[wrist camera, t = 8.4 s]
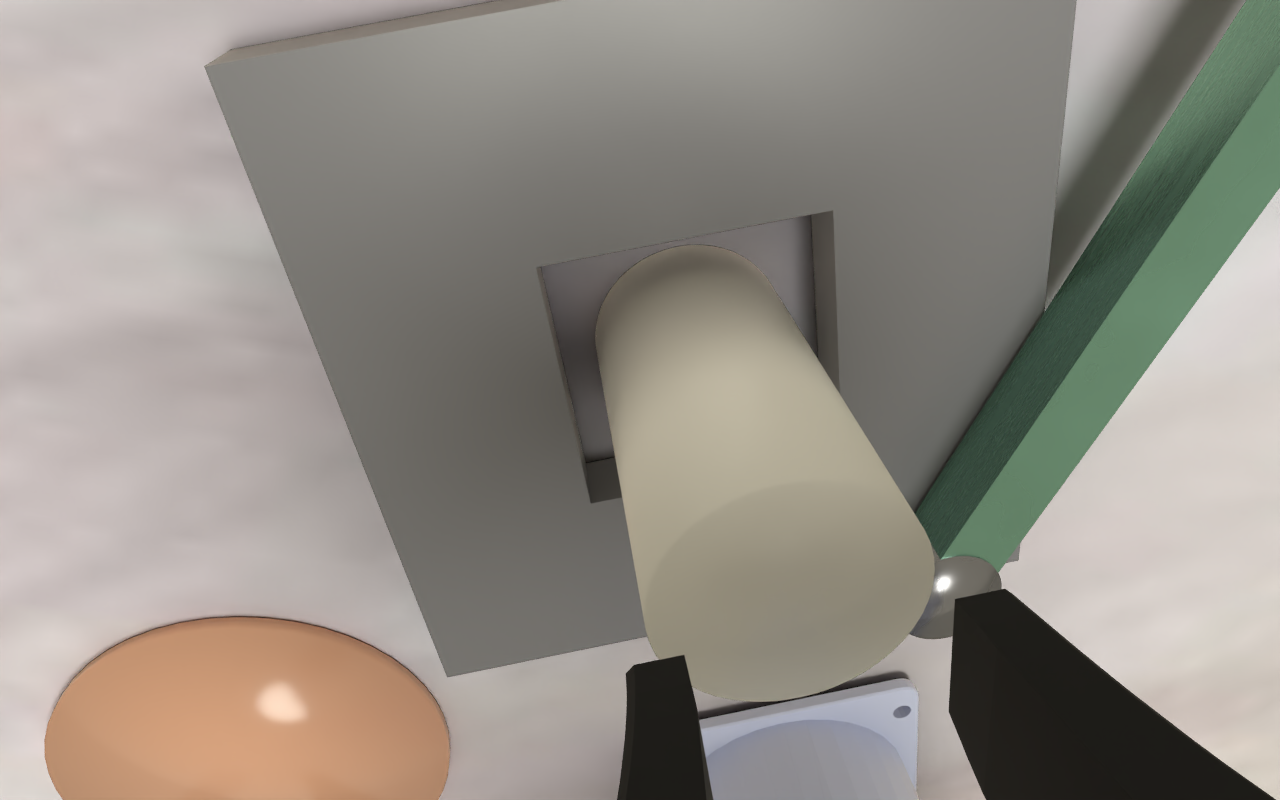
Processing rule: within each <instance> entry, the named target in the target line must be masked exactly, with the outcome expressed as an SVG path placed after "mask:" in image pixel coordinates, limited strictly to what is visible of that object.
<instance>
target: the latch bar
mask: <svg viewBox="0 0 1280 800" xmlns="http://www.w3.org/2000/svg"><path fill="white" fill-rule="evenodd" d="M1279 188H1280V0H1246V2H1245V3H1244V5H1243V6H1242V8H1241V10H1240V11H1239V13H1238V14H1237V16H1236V17H1235V19H1234V20H1233V22H1232V23H1231V25H1230V27H1229V28H1228V30H1227V31H1226V33H1225V34H1224V36H1223V37H1222V39H1221V40H1220V42H1219V44H1218V45H1217V47H1216V48H1215V50H1214V51H1213V53H1212V54H1211V56H1210V57H1209V59H1208V61H1207V62H1206V64H1205V65H1204V67H1203V68H1202V70H1201V71H1200V73H1199V74H1198V76H1197V78H1196V79H1195V81H1194V82H1193V84H1192V85H1191V87H1190V88H1189V90H1188V91H1187V93H1186V95H1185V96H1184V98H1183V99H1182V101H1181V102H1180V104H1179V105H1178V107H1177V108H1176V110H1175V112H1174V113H1173V115H1172V116H1171V118H1170V119H1169V121H1168V122H1167V124H1166V126H1165V127H1164V129H1163V130H1162V132H1161V133H1160V135H1159V136H1158V138H1157V139H1156V141H1155V143H1154V144H1153V146H1152V147H1151V149H1150V150H1149V152H1148V153H1147V155H1146V156H1145V158H1144V160H1143V161H1142V163H1141V164H1140V166H1139V167H1138V169H1137V170H1136V172H1135V173H1134V175H1133V177H1132V178H1131V180H1130V181H1129V183H1128V184H1127V186H1126V187H1125V189H1124V190H1123V192H1122V194H1121V195H1120V197H1119V198H1118V200H1117V201H1116V203H1115V204H1114V206H1113V207H1112V209H1111V211H1110V212H1109V214H1108V215H1107V217H1106V218H1105V220H1104V221H1103V223H1102V224H1101V226H1100V228H1099V229H1098V231H1097V232H1096V234H1095V235H1094V237H1093V238H1092V240H1091V241H1090V243H1089V245H1088V246H1087V248H1086V249H1085V251H1084V252H1083V254H1082V255H1081V257H1080V258H1079V260H1078V262H1077V263H1076V265H1075V266H1074V268H1073V269H1072V271H1071V272H1070V274H1069V276H1068V277H1067V279H1066V280H1065V282H1064V283H1063V285H1062V286H1061V288H1060V289H1059V291H1058V293H1057V294H1056V296H1055V297H1054V299H1053V300H1052V302H1051V303H1050V305H1049V306H1048V308H1047V310H1046V311H1045V313H1044V314H1043V316H1042V317H1041V319H1040V320H1039V322H1038V323H1037V325H1036V327H1035V328H1034V330H1033V331H1032V333H1031V334H1030V336H1029V337H1028V339H1027V340H1026V342H1025V344H1024V345H1023V347H1022V348H1021V350H1020V351H1019V353H1018V354H1017V356H1016V357H1015V359H1014V361H1013V362H1012V364H1011V365H1010V367H1009V368H1008V370H1007V371H1006V373H1005V374H1004V376H1003V378H1002V379H1001V381H1000V382H999V384H998V385H997V387H996V388H995V390H994V391H993V393H992V395H991V396H990V398H989V399H988V401H987V402H986V404H985V405H984V407H983V408H982V410H981V412H980V413H979V415H978V416H977V418H976V419H975V421H974V422H973V424H972V426H971V427H970V429H969V430H968V432H967V433H966V435H965V436H964V438H963V439H962V441H961V443H960V444H959V446H958V447H957V449H956V450H955V452H954V453H953V455H952V456H951V458H950V460H949V461H948V463H947V464H946V466H945V467H944V469H943V470H942V472H941V473H940V475H939V477H938V478H937V480H936V481H935V483H934V484H933V486H932V487H931V489H930V490H929V492H928V494H927V495H926V497H925V498H924V500H923V501H922V503H921V504H920V506H919V507H918V509H917V511H916V512H915V515H916V517H917V518H918V520H919V522H920V523H921V525H922V526H923V528H924V530H925V532H926V534H927V536H928V538H929V540H930V543H931V546H932V550H933V555H934V566H935V573H934V582H933V587H932V591H931V594H930V598H929V601H928V603H927V605H926V607H925V609H924V612H923V614H922V615H921V617H920V618H919V620H918V622H917V623H916V625H915V627H914V628H913V629H912V630H911V632H910V633H909V634H911V635H913V636H915V637H919V638H924V639H941V638H947V637H951V636H953V624H954V605H955V599H957V598H962V597H967V596H972V595H977V594H982V593H986V592H991V591H996V590H1001V579H1000V576H999V574H998V572H999V571H1000V570H1001V568H1002V567H1003V566H1004V564H1005V563H1006V561H1007V560H1008V559H1009V557H1010V556H1011V555H1012V553H1013V552H1014V550H1015V549H1016V548H1017V546H1018V545H1019V544H1020V542H1021V541H1022V540H1023V538H1024V537H1025V535H1026V534H1027V533H1028V531H1029V530H1030V529H1031V527H1032V526H1033V524H1034V523H1035V522H1036V520H1037V519H1038V518H1039V516H1040V515H1041V514H1042V512H1043V511H1044V509H1045V508H1046V507H1047V505H1048V504H1049V503H1050V501H1051V500H1052V498H1053V497H1054V496H1055V494H1056V493H1057V492H1058V490H1059V489H1060V488H1061V486H1062V485H1063V483H1064V482H1065V481H1066V479H1067V478H1068V477H1069V475H1070V474H1071V472H1072V471H1073V470H1074V468H1075V467H1076V466H1077V464H1078V463H1079V462H1080V460H1081V459H1082V457H1083V456H1084V455H1085V453H1086V452H1087V451H1088V449H1089V448H1090V446H1091V445H1092V444H1093V442H1094V441H1095V440H1096V438H1097V437H1098V436H1099V434H1100V433H1101V431H1102V430H1103V429H1104V427H1105V426H1106V425H1107V423H1108V422H1109V420H1110V419H1111V418H1112V416H1113V415H1114V414H1115V412H1116V411H1117V410H1118V408H1119V407H1120V405H1121V404H1122V403H1123V401H1124V400H1125V399H1126V397H1127V396H1128V394H1129V393H1130V392H1131V390H1132V389H1133V388H1134V386H1135V385H1136V384H1137V382H1138V381H1139V379H1140V378H1141V377H1142V375H1143V374H1144V373H1145V371H1146V370H1147V368H1148V367H1149V366H1150V364H1151V363H1152V362H1153V360H1154V359H1155V358H1156V356H1157V355H1158V353H1159V352H1160V351H1161V349H1162V348H1163V347H1164V345H1165V344H1166V342H1167V341H1168V340H1169V338H1170V337H1171V336H1172V334H1173V333H1174V332H1175V330H1176V329H1177V327H1178V326H1179V325H1180V323H1181V322H1182V321H1183V319H1184V318H1185V316H1186V315H1187V314H1188V312H1189V311H1190V310H1191V308H1192V307H1193V306H1194V304H1195V303H1196V301H1197V300H1198V299H1199V297H1200V296H1201V295H1202V293H1203V292H1204V290H1205V289H1206V288H1207V286H1208V285H1209V284H1210V282H1211V281H1212V280H1213V278H1214V277H1215V275H1216V274H1217V273H1218V271H1219V270H1220V269H1221V267H1222V266H1223V264H1224V263H1225V262H1226V260H1227V259H1228V258H1229V256H1230V255H1231V254H1232V252H1233V251H1234V249H1235V248H1236V247H1237V245H1238V244H1239V243H1240V241H1241V240H1242V238H1243V237H1244V236H1245V234H1246V233H1247V232H1248V230H1249V229H1250V228H1251V226H1252V225H1253V223H1254V222H1255V221H1256V219H1257V218H1258V217H1259V215H1260V214H1261V212H1262V211H1263V210H1264V208H1265V207H1266V206H1267V204H1268V203H1269V202H1270V200H1271V199H1272V197H1273V196H1274V195H1275V193H1276V192H1277V191H1278V189H1279Z"/></svg>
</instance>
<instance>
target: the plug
mask: <svg viewBox="0 0 1280 800" xmlns="http://www.w3.org/2000/svg"><path fill="white" fill-rule="evenodd" d="M595 343H596V351H597V357H598V363H599V368H600V374H601V380H602V385H603V391H604V397H605V402H606V408H607V414H608V419H609V425H610V431H611V436H612V442H613V448H614V453H615V459H616V465H617V470H618V476H619V482H620V487H621V493H622V499H623V504H624V510H625V516H626V521H627V527H628V533H629V538H630V544H631V550H632V555H633V561H634V567H635V572H636V578H637V584H638V589H639V595H640V601H641V606H642V612H643V618H644V623H645V629H646V633H647V636H648V639H649V642H650V645H651V647H652V648H653V650H654V652H655V654H656V656H657V657H658V658H659V660H661V659H666V658H670V657H675V656H680V655H685V660H686V664H687V668H688V672H689V677H690V681H691V685H692V687H694V688H696V689H698V690H700V691H702V692H705V693H708V694H711V695H714V696H717V697H722V698H726V699H731V700H739V701H749V702H768V701H782V700H788V699H794V698H800V697H804V696H808V695H812V694H816V693H819V692H822V691H825V690H827V689H830V688H833V687H835V686H838V685H840V684H842V683H844V682H847V681H849V680H851V679H853V678H855V677H856V676H858V675H860V674H862V673H864V672H865V671H867V670H868V669H870V668H871V667H873V666H874V665H876V664H877V663H879V662H880V661H881V660H882V659H884V658H885V657H886V656H887V655H888V654H890V653H891V652H892V651H893V650H894V649H895V648H896V647H897V646H898V645H899V644H900V643H901V642H902V641H903V640H904V639H905V638H906V637H907V635H908V634H909V633H910V632H911V630H912V629H913V628H914V627H915V625H916V623H917V622H918V620H919V618H920V617H921V615H922V614H923V612H924V609H925V607H926V605H927V603H928V601H929V598H930V594H931V591H932V587H933V582H934V573H935V566H934V555H933V550H932V546H931V543H930V540H929V538H928V536H927V534H926V532H925V530H924V528H923V526H922V525H921V523H920V522H919V520H918V518H917V517H916V515H915V514H914V512H913V510H912V509H911V507H910V506H909V504H908V502H907V501H906V499H905V498H904V496H903V494H902V493H901V491H900V490H899V488H898V486H897V485H896V483H895V482H894V480H893V478H892V477H891V475H890V474H889V472H888V470H887V469H886V467H885V466H884V464H883V462H882V461H881V459H880V458H879V456H878V454H877V453H876V451H875V450H874V448H873V446H872V445H871V443H870V442H869V440H868V438H867V437H866V435H865V434H864V432H863V430H862V429H861V427H860V426H859V424H858V422H857V421H856V419H855V418H854V416H853V414H852V413H851V411H850V410H849V408H848V406H847V405H846V403H845V402H844V400H843V398H842V397H841V395H840V394H839V392H838V390H837V389H836V387H835V386H834V384H833V382H832V381H831V379H830V378H829V376H828V374H827V373H826V371H825V370H824V368H823V366H822V365H821V363H820V362H819V360H818V358H817V357H816V355H815V354H814V352H813V350H812V349H811V347H810V346H809V344H808V342H807V341H806V339H805V338H804V336H803V334H802V333H801V331H800V330H799V328H798V326H797V325H796V323H795V322H794V320H793V318H792V317H791V315H790V314H789V312H788V310H787V309H786V307H785V306H784V304H783V302H782V301H781V299H780V298H779V296H778V294H777V293H776V291H775V290H774V288H773V286H772V285H771V283H770V282H769V280H768V279H767V277H766V276H765V275H764V274H763V273H762V272H761V271H760V269H759V268H758V267H756V266H755V265H754V264H753V263H751V262H750V261H749V260H747V259H746V258H744V257H742V256H741V255H739V254H737V253H734V252H732V251H729V250H727V249H723V248H719V247H716V246H708V245H685V246H678V247H673V248H670V249H666V250H663V251H660V252H658V253H655V254H652V255H651V256H649V257H647V258H645V259H643V260H641V261H640V262H638V263H637V264H635V265H634V266H633V267H631V268H630V269H629V270H628V271H627V272H626V273H624V274H623V275H622V276H621V277H620V278H619V280H618V281H617V282H616V283H615V284H614V285H613V287H612V288H611V290H610V291H609V293H608V294H607V296H606V298H605V300H604V302H603V304H602V306H601V309H600V312H599V315H598V318H597V324H596V330H595Z"/></svg>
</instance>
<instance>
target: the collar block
mask: <svg viewBox="0 0 1280 800" xmlns="http://www.w3.org/2000/svg"><path fill="white" fill-rule="evenodd" d="M1076 1H1077V0H497V1H492V2H486V3H481V4H475V5H470V6H464V7H459V8H454V9H448V10H443V11H437V12H432V13H426V14H421V15H416V16H410V17H405V18H399V19H394V20H388V21H383V22H378V23H372V24H367V25H361V26H356V27H350V28H345V29H340V30H334V31H329V32H323V33H318V34H312V35H307V36H302V37H296V38H291V39H285V40H280V41H274V42H269V43H264V44H258V45H253V46H247V47H242V48H236V49H231V50H229V51H228V52H226V53H225V54H223V55H222V56H220V57H218V58H217V59H215V60H214V61H212V62H211V63H209V64H208V65H206V66H204V67H205V70H206V72H207V75H208V77H209V80H210V82H211V85H212V87H213V90H214V92H215V95H216V97H217V100H218V102H219V105H220V107H221V110H222V112H223V115H224V117H225V120H226V122H227V125H228V127H229V130H230V132H231V135H232V137H233V140H234V142H235V145H236V147H237V150H238V152H239V155H240V157H241V160H242V163H243V165H244V168H245V170H246V173H247V175H248V178H249V180H250V183H251V185H252V188H253V190H254V193H255V195H256V198H257V200H258V203H259V205H260V208H261V210H262V213H263V215H264V218H265V220H266V223H267V225H268V228H269V230H270V233H271V235H272V238H273V240H274V243H275V245H276V248H277V250H278V253H279V256H280V258H281V261H282V263H283V266H284V268H285V271H286V273H287V276H288V278H289V281H290V283H291V286H292V288H293V291H294V293H295V296H296V298H297V301H298V303H299V306H300V308H301V311H302V313H303V316H304V318H305V321H306V323H307V326H308V328H309V331H310V333H311V336H312V338H313V341H314V344H315V346H316V349H317V351H318V354H319V356H320V359H321V361H322V364H323V366H324V369H325V371H326V374H327V376H328V379H329V381H330V384H331V386H332V389H333V391H334V394H335V396H336V399H337V401H338V404H339V406H340V409H341V411H342V414H343V416H344V419H345V421H346V424H347V426H348V429H349V431H350V434H351V437H352V439H353V442H354V444H355V447H356V449H357V452H358V454H359V457H360V459H361V462H362V464H363V467H364V469H365V472H366V474H367V477H368V479H369V482H370V484H371V487H372V489H373V492H374V494H375V497H376V499H377V502H378V504H379V507H380V509H381V512H382V514H383V517H384V519H385V522H386V524H387V527H388V530H389V532H390V535H391V537H392V540H393V542H394V545H395V547H396V550H397V552H398V555H399V557H400V560H401V562H402V565H403V567H404V570H405V572H406V575H407V577H408V580H409V582H410V585H411V587H412V590H413V592H414V595H415V597H416V600H417V602H418V605H419V607H420V610H421V612H422V615H423V618H424V620H425V623H426V625H427V628H428V630H429V633H430V635H431V638H432V640H433V643H434V645H435V648H436V650H437V653H438V655H439V658H440V660H441V663H442V665H443V668H444V670H445V673H446V675H447V677H452V676H456V675H461V674H466V673H471V672H476V671H481V670H486V669H491V668H495V667H500V666H505V665H510V664H515V663H520V662H525V661H530V660H535V659H539V658H544V657H549V656H554V655H559V654H564V653H569V652H574V651H578V650H583V649H588V648H593V647H598V646H603V645H608V644H613V643H618V642H622V641H627V640H632V639H637V638H642V637H647V633H646V629H645V623H644V618H643V612H642V606H641V601H640V595H639V589H638V584H637V578H636V572H635V567H634V561H633V555H632V550H631V544H630V538H629V533H628V527H627V521H626V516H625V510H624V504H623V499H622V493H621V487H620V482H619V476H618V470H617V465H616V459H615V458H610V459H605V460H600V461H595V462H590V463H586V462H585V458H584V454H583V449H582V445H581V441H580V436H579V432H578V427H577V423H576V419H575V414H574V410H573V406H572V401H571V397H570V393H569V388H568V384H567V380H566V375H565V371H564V366H563V362H562V358H561V353H560V349H559V345H558V340H557V336H556V332H555V327H554V323H553V319H552V314H551V310H550V305H549V301H548V297H547V292H546V288H545V284H544V279H543V275H542V271H541V267H542V266H547V265H552V264H557V263H563V262H568V261H573V260H578V259H583V258H589V257H594V256H599V255H604V254H609V253H615V252H620V251H625V250H630V249H635V248H640V247H646V246H651V245H656V244H661V243H666V242H672V241H677V240H682V239H687V238H692V237H698V236H703V235H708V234H713V233H718V232H724V231H729V230H734V229H739V228H744V227H749V226H755V225H760V224H765V223H770V222H775V221H781V220H786V219H791V218H796V217H801V216H807V215H811V226H812V245H813V265H814V285H815V305H816V325H817V344H818V360H819V362H820V363H821V365H822V366H823V368H824V370H825V371H826V373H827V374H828V376H829V378H830V379H831V381H832V382H833V384H834V386H835V387H836V389H837V390H838V392H839V394H840V395H841V397H842V398H843V400H844V402H845V403H846V405H847V406H848V408H849V410H850V411H851V413H852V414H853V416H854V418H855V419H856V421H857V422H858V424H859V426H860V427H861V429H862V430H863V432H864V434H865V435H866V437H867V438H868V440H869V442H870V443H871V445H872V446H873V448H874V450H875V451H876V453H877V454H878V456H879V458H880V459H881V461H882V462H883V464H884V466H885V467H886V469H887V470H888V472H889V474H890V475H891V477H892V478H893V480H894V482H895V483H896V485H897V486H898V488H899V490H900V491H901V493H902V494H903V496H904V498H905V499H906V501H907V502H908V504H909V506H910V507H911V509H912V510H913V512H914V514H915V512H916V511H917V509H918V507H919V506H920V504H921V503H922V501H923V500H924V498H925V497H926V495H927V494H928V492H929V490H930V489H931V487H932V486H933V484H934V483H935V481H936V480H937V478H938V477H939V475H940V473H941V472H942V470H943V469H944V467H945V466H946V464H947V463H948V461H949V460H950V458H951V456H952V455H953V453H954V452H955V450H956V449H957V447H958V446H959V444H960V443H961V441H962V439H963V438H964V436H965V435H966V433H967V432H968V430H969V429H970V427H971V426H972V424H973V422H974V421H975V419H976V418H977V416H978V415H979V413H980V412H981V410H982V408H983V407H984V405H985V404H986V402H987V401H988V399H989V398H990V396H991V395H992V393H993V391H994V390H995V388H996V387H997V385H998V384H999V382H1000V381H1001V379H1002V378H1003V376H1004V374H1005V373H1006V371H1007V370H1008V368H1009V367H1010V365H1011V364H1012V362H1013V361H1014V359H1015V357H1016V356H1017V354H1018V353H1019V351H1020V350H1021V348H1022V347H1023V345H1024V344H1025V342H1026V340H1027V339H1028V337H1029V336H1030V334H1031V333H1032V331H1033V330H1034V328H1035V327H1036V325H1037V323H1038V322H1039V320H1040V319H1041V317H1042V316H1043V314H1044V309H1045V300H1046V290H1047V280H1048V271H1049V261H1050V251H1051V242H1052V232H1053V223H1054V213H1055V203H1056V194H1057V184H1058V174H1059V165H1060V155H1061V145H1062V136H1063V126H1064V117H1065V107H1066V97H1067V88H1068V78H1069V68H1070V59H1071V49H1072V39H1073V30H1074V20H1075V11H1076ZM1019 550H1020V544H1019V545H1018V546H1017V548H1016V549H1015V550H1014V552H1013V553H1012V555H1011V556H1010V557H1009V559H1008V560H1007V561H1006V563H1008V562H1013V561H1018V560H1019Z"/></svg>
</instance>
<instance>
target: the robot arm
mask: <svg viewBox="0 0 1280 800" xmlns="http://www.w3.org/2000/svg"><path fill="white" fill-rule="evenodd" d="M626 684H627V713H626V731H625V743H624V752H623V761H622V770H621V778H620V785H619V792H618V798H617V800H919V797H918V795H917V793H916V783H917V744H918V704H919V695H918V691H917V689H916V687H915V685H914V683H913V682H912V681H910V680H908V679H904V678H901V679H894V680H889V681H884V682H879V683H874V684H870V685H865V686H860V687H855V688H850V689H846V690H841V691H836V692H831V693H826V694H822V695H817V696H812V697H807V698H802V699H797V700H793V701H788V702H783V703H778V704H773V705H769V706H764V707H759V708H754V709H749V710H745V711H740V712H735V713H730V714H725V715H720V716H716V717H711V718H706V719H701V720H699V717H698V711H697V707H696V702H695V698H694V694H693V689H692V685H691V681H690V677H689V672H688V668H687V664H686V660H685V655H680V656H675V657H670V658H666V659H661V660H656V661H651V662H646V663H641V664H636V665H633V667H632V668H631V669H630V670H629V671H628V672H627V673H626ZM949 713H950V716H951V718H952V720H953V723H954V725H955V728H956V730H957V733H958V735H959V738H960V740H961V743H962V745H963V748H964V750H965V752H966V755H967V757H968V760H969V762H970V764H971V767H972V769H973V771H974V774H975V776H976V778H977V781H978V783H979V785H980V787H981V790H982V792H983V794H984V796H985V798H986V800H1276V799H1274V798H1273V797H1271V796H1270V795H1269V794H1267V793H1266V792H1264V791H1263V790H1261V789H1260V788H1259V787H1257V786H1256V785H1254V784H1253V783H1252V782H1250V781H1249V780H1247V779H1246V778H1245V777H1243V776H1242V775H1240V774H1239V773H1237V772H1236V771H1235V770H1233V769H1232V768H1230V767H1229V766H1228V765H1226V764H1225V763H1223V762H1222V761H1221V760H1219V759H1218V758H1217V757H1215V756H1214V755H1213V754H1211V753H1210V752H1209V751H1207V750H1206V749H1205V748H1203V747H1202V746H1200V745H1199V744H1198V743H1196V742H1195V741H1194V740H1192V739H1191V738H1190V737H1188V736H1187V735H1186V734H1185V733H1183V732H1182V731H1181V730H1179V729H1178V728H1177V727H1175V726H1174V725H1173V724H1172V723H1170V722H1169V721H1168V720H1166V719H1165V718H1164V717H1162V716H1161V715H1160V714H1159V713H1157V712H1156V711H1155V710H1153V709H1152V708H1151V707H1149V706H1148V705H1147V704H1146V703H1144V702H1143V701H1142V700H1140V699H1139V698H1138V697H1136V696H1135V695H1134V694H1133V693H1131V692H1130V691H1129V690H1128V689H1126V688H1125V687H1124V686H1123V685H1121V684H1120V683H1119V682H1118V681H1116V680H1115V679H1114V678H1113V677H1111V676H1110V675H1109V674H1108V673H1107V672H1105V671H1104V670H1103V669H1102V668H1100V667H1099V666H1098V665H1097V664H1096V663H1094V662H1093V661H1092V660H1091V659H1089V658H1088V657H1087V656H1086V655H1085V654H1083V653H1082V652H1081V651H1080V650H1078V649H1077V648H1076V647H1075V646H1074V645H1072V644H1071V643H1070V642H1069V641H1068V640H1066V639H1065V638H1064V637H1063V636H1062V635H1060V634H1059V633H1058V632H1057V631H1056V630H1055V629H1053V628H1052V627H1051V626H1050V625H1049V624H1047V623H1046V622H1045V621H1044V620H1043V619H1041V618H1040V617H1039V616H1038V615H1037V614H1036V613H1034V612H1033V611H1032V610H1031V609H1030V608H1028V607H1027V606H1026V605H1025V604H1024V603H1023V602H1021V601H1020V600H1019V599H1018V598H1017V597H1015V596H1014V595H1013V594H1012V593H1010V592H1009V591H1007V590H1006V589H1001V590H996V591H991V592H986V593H982V594H977V595H972V596H967V597H962V598H957V599H955V605H954V624H953V642H952V661H951V680H950V698H949Z"/></svg>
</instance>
